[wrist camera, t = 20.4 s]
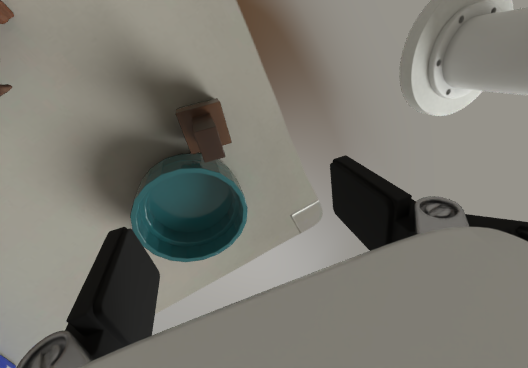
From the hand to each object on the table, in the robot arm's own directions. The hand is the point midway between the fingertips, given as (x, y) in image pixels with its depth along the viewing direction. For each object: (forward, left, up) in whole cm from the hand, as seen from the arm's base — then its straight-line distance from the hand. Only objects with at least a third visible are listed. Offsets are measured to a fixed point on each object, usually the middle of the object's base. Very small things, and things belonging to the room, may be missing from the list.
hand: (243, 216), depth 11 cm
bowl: (+5, +10, -22) cm, 25 cm away
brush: (+1, 0, -22) cm, 22 cm away
